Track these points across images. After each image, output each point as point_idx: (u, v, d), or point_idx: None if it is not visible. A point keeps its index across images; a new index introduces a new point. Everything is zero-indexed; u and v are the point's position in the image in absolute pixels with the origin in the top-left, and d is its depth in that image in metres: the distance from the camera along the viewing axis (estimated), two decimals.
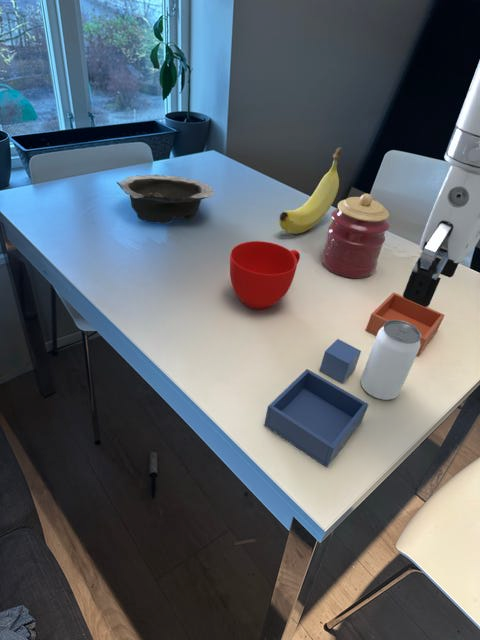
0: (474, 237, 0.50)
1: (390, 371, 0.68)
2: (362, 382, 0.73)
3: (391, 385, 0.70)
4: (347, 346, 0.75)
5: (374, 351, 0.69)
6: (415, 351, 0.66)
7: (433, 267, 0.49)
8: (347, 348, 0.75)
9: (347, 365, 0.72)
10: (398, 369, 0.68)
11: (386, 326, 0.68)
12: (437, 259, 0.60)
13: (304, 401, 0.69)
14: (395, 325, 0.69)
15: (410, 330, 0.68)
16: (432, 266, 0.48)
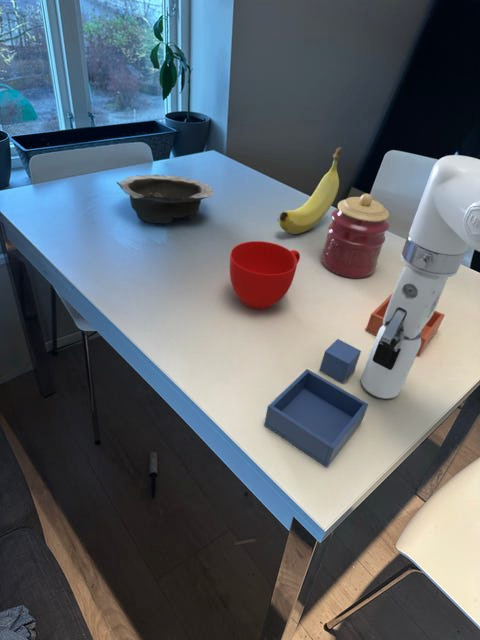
0: (425, 318, 0.62)
1: None
2: (362, 381, 0.73)
3: (391, 383, 0.70)
4: (347, 346, 0.75)
5: (375, 348, 0.69)
6: (416, 348, 0.66)
7: (393, 344, 0.62)
8: (347, 348, 0.75)
9: (347, 365, 0.72)
10: (399, 367, 0.68)
11: None
12: None
13: (304, 401, 0.69)
14: None
15: None
16: (392, 344, 0.62)
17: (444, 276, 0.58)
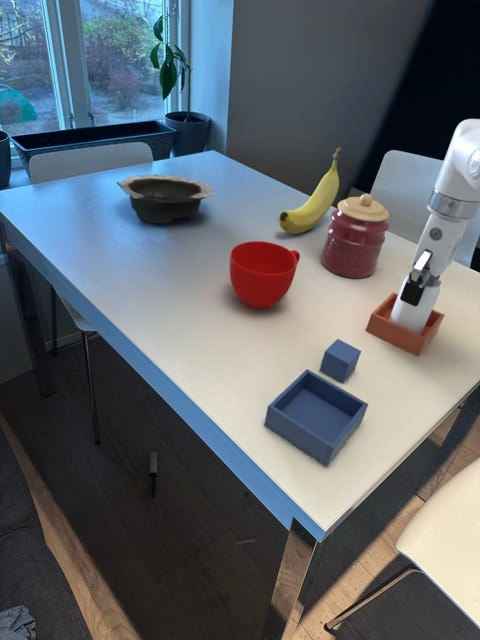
0: (447, 259, 0.74)
1: (414, 313, 0.81)
2: None
3: (414, 325, 0.82)
4: (347, 346, 0.75)
5: (400, 296, 0.82)
6: (436, 294, 0.79)
7: (419, 280, 0.73)
8: (347, 348, 0.75)
9: (347, 365, 0.72)
10: (421, 311, 0.80)
11: None
12: None
13: (304, 401, 0.69)
14: None
15: (431, 278, 0.81)
16: (419, 279, 0.73)
17: (464, 220, 0.70)
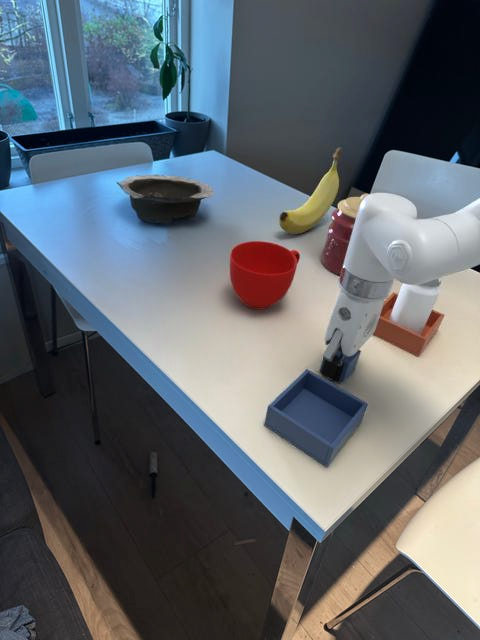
0: (361, 338, 0.68)
1: (414, 313, 0.81)
2: None
3: (414, 325, 0.82)
4: None
5: (400, 296, 0.82)
6: (436, 294, 0.79)
7: (335, 360, 0.69)
8: None
9: (347, 365, 0.72)
10: (421, 311, 0.80)
11: None
12: None
13: (304, 401, 0.69)
14: None
15: None
16: (334, 360, 0.69)
17: (374, 301, 0.63)
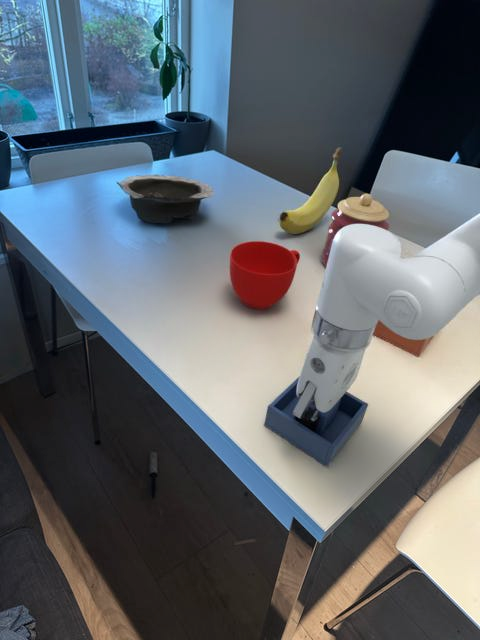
0: (339, 391, 0.58)
1: None
2: None
3: None
4: None
5: None
6: None
7: (307, 416, 0.59)
8: None
9: (324, 418, 0.62)
10: None
11: None
12: None
13: None
14: None
15: None
16: (306, 417, 0.59)
17: (353, 351, 0.53)
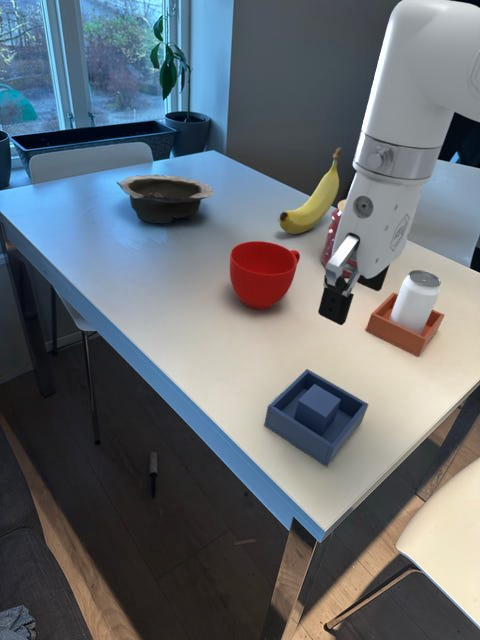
0: (387, 250, 0.45)
1: (414, 313, 0.81)
2: None
3: (414, 325, 0.82)
4: (324, 394, 0.65)
5: (400, 296, 0.82)
6: (435, 294, 0.79)
7: (340, 283, 0.44)
8: (324, 396, 0.64)
9: (324, 418, 0.62)
10: (421, 311, 0.80)
11: (411, 275, 0.81)
12: None
13: None
14: (418, 274, 0.81)
15: (431, 278, 0.81)
16: (338, 282, 0.44)
17: (410, 183, 0.41)
